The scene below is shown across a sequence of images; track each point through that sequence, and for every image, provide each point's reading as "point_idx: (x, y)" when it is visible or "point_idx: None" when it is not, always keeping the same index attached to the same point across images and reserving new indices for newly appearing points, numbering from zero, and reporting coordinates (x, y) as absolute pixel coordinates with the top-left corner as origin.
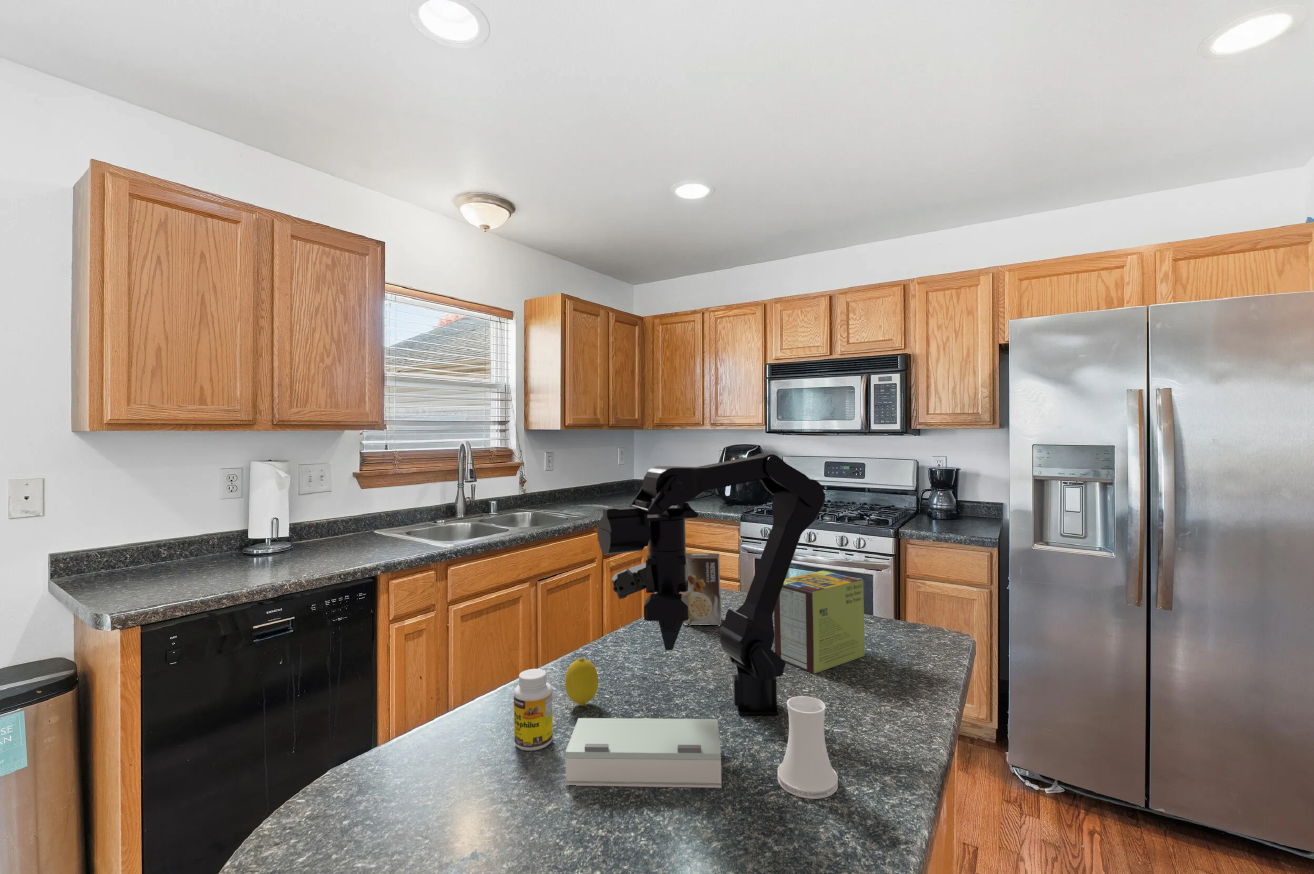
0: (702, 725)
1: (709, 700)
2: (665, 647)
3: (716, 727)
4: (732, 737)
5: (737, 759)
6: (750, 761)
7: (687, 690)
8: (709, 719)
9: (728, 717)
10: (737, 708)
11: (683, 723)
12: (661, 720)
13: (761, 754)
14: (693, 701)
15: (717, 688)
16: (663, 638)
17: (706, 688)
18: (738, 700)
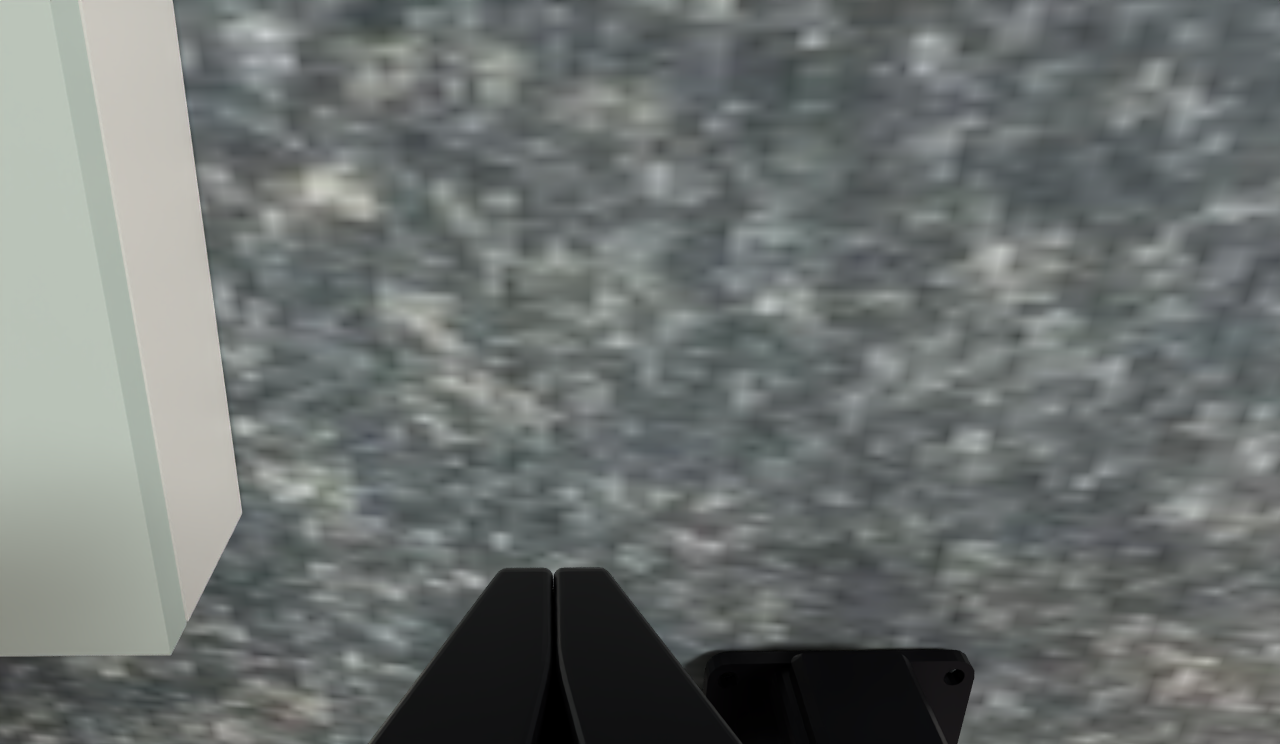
0: (31, 550)
1: (963, 487)
2: (480, 599)
3: (24, 643)
4: (418, 598)
5: None
6: (137, 670)
7: (1172, 338)
8: (154, 601)
9: (691, 590)
10: (787, 654)
11: (34, 404)
12: (52, 203)
13: (228, 725)
14: (969, 379)
15: (1144, 545)
16: (391, 730)
17: (1166, 474)
18: (791, 702)
